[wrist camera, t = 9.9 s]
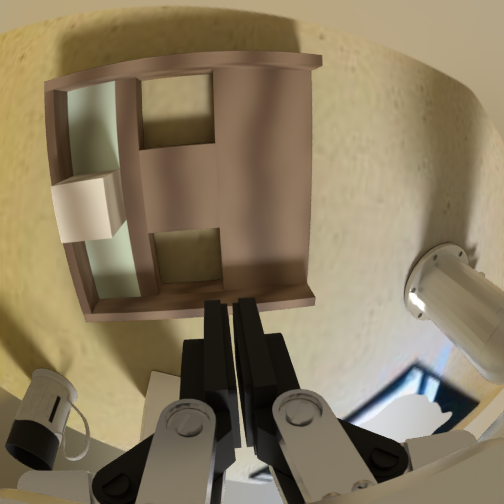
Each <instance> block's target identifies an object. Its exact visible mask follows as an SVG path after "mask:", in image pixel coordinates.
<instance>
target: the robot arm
mask: <svg viewBox="0 0 504 504" xmlns="http://www.w3.org/2000/svg"><path fill="white" fill-rule="evenodd" d="M405 305H406V308H407V310H408V311H409V313H410V314H411V315H412V316H413V317H414V318H416V319H417V320H422V321H427V320H431V321H432V322H433V323H434V324H435V325H436V326H437V327H438V328H439V329H440V330H441V331H442V332H443V333H444V334H445V335H446V337H447V338H448V339H449V340H450V341H451V342H452V343H453V344H454V345H455V346H456V347H457V348H458V350H459V351H460V352H461V353H462V354H463V355H464V356H465V357H466V358H467V360H468V361H469V362H470V363H471V364H472V365H473V366H474V367H475V369H476V370H477V371H478V372H479V373H480V374H481V375H482V376H483V377H484V378H485V379H486V380H487V381H488V382H490V383H492V384H496V385H504V291H503V290H501V289H500V288H499V287H497V286H496V285H495V284H493V283H492V282H491V281H489V280H488V279H487V278H485V274H484V273H483V272H479V273H478V272H477V271H475V270H474V269H473V268H471V267H470V266H469V263H468V258H467V255H466V253H465V252H464V250H463V249H462V248H460V247H459V246H457V245H455V244H452V243H445V244H441V245H438V246H436V247H435V248H433V249H431V250H430V251H429V252H428V253H426V254H425V255H424V256H423V257H422V258H421V260H420V261H419V262H418V263H417V265H416V266H415V268H414V269H413V271H412V273H411V275H410V277H409V280H408V282H407V286H406V289H405ZM232 310H233V328H234V345H235V361H236V371H237V379H238V387H239V394H240V402H241V409H242V416H243V423H244V430H245V437H246V444H247V447H253V446H254V452H255V455H257V458H258V459H259V460H261V461H263V462H265V463H266V464H268V465H269V469H270V472H271V474H272V477H273V479H274V481H275V484H276V486H277V488H278V491H279V494H280V496H281V498H282V501H283V503H284V504H504V411H503V413H502V414H501V415H500V416H499V417H498V418H497V419H496V420H495V421H494V422H493V424H492V425H491V426H490V427H489V428H488V429H487V430H486V431H485V432H484V433H483V434H482V436H481V437H480V438H479V439H478V441H477V440H476V438H475V436H474V435H473V434H471V433H470V432H468V431H465V430H455V431H450V432H446V433H441V434H436V435H430V436H425V437H419V438H412V439H407V440H406V441H405V442H404V443H398V442H396V441H394V440H392V439H389V438H386V437H384V436H381V435H378V434H376V433H373V432H371V431H368V430H365V429H363V428H360V427H358V426H355V425H353V424H351V423H348V422H346V421H343V420H341V419H339V418H336V416H335V415H334V413H333V412H332V410H331V408H330V407H329V405H328V403H327V402H326V401H325V400H324V398H323V397H322V396H320V395H319V394H317V393H315V392H313V391H310V390H304V389H300V386H299V383H298V380H297V377H296V374H295V371H294V368H293V365H292V362H291V359H290V356H289V353H288V350H287V347H286V344H285V341H284V338H283V336H282V334H281V333H272V334H264V332H263V328H262V324H261V320H260V316H259V312H258V308H257V304H256V301H255V297H247V298H238V302H237V303H232ZM234 448H241V436H240V424H239V411H238V397H237V386H236V377H235V369H234V361H233V352H232V343H231V335H230V325H229V316H228V307H227V303H223V304H221V301H220V299H218V300H204V339H189V340H184V342H183V352H182V364H181V378H180V394H179V400H178V401H174V402H173V403H171V404H169V405H167V406H166V407H165V408H164V409H163V410H162V412H161V414H160V416H159V419H158V423H157V426H156V430H155V432H154V433H153V434H152V435H150V436H149V437H147V438H146V439H145V440H143V441H142V442H140V443H139V444H137V445H136V446H135V447H133V448H132V449H130V450H129V451H127V452H126V453H124V454H123V455H121V456H120V457H118V458H117V459H115V460H114V461H112V462H111V463H109V464H108V465H106V466H105V467H103V468H102V469H101V470H99V471H98V472H97V473H89V472H88V471H87V470H83V471H37V470H34V471H28V472H26V473H25V474H23V475H22V476H21V478H20V479H19V482H18V486H17V490H16V489H0V504H223V500H224V489H225V478H226V471H225V470H226V469H227V468H228V467H229V466H231V465H232V464H233V463H234V462H235V461H236V459H235V449H234Z"/></svg>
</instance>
